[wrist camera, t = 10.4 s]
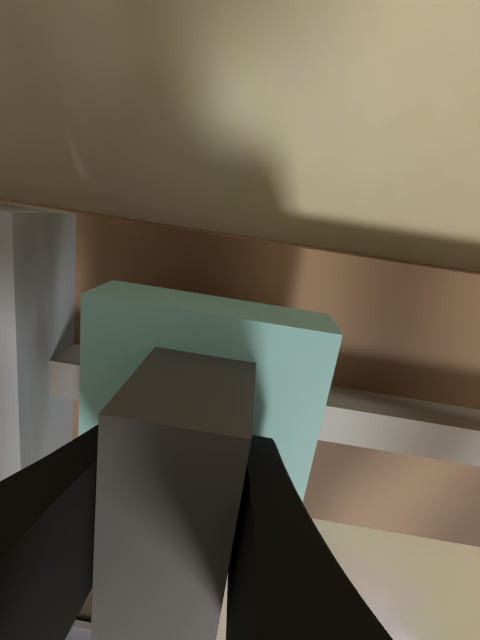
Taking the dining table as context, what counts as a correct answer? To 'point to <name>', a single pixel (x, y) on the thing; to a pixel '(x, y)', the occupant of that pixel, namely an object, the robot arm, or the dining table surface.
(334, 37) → the dining table surface
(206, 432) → the carriage
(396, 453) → the rail board
